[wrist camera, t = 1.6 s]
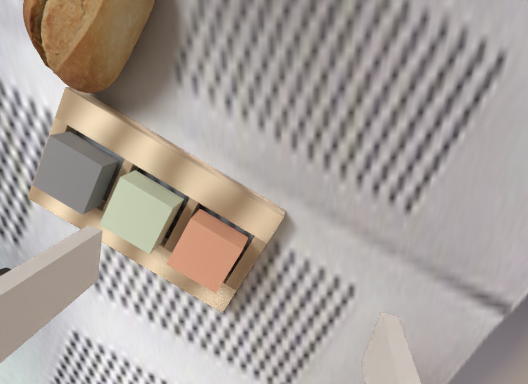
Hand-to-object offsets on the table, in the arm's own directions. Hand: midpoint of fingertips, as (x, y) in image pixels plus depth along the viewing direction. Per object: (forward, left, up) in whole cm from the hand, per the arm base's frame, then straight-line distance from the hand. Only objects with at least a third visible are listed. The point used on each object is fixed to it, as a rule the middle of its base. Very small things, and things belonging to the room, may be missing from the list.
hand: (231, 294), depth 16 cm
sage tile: (-11, -10, -21) cm, 25 cm away
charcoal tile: (-19, -10, -20) cm, 30 cm away
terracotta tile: (-3, -10, -21) cm, 23 cm away
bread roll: (-23, +5, -23) cm, 33 cm away
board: (-11, -10, -23) cm, 27 cm away
